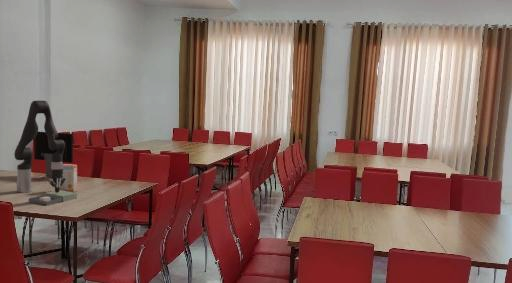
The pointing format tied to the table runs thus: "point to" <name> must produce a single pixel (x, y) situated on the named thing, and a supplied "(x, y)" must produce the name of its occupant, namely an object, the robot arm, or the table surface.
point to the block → (45, 198)
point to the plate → (63, 195)
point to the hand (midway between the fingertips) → (57, 192)
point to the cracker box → (69, 178)
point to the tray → (53, 201)
